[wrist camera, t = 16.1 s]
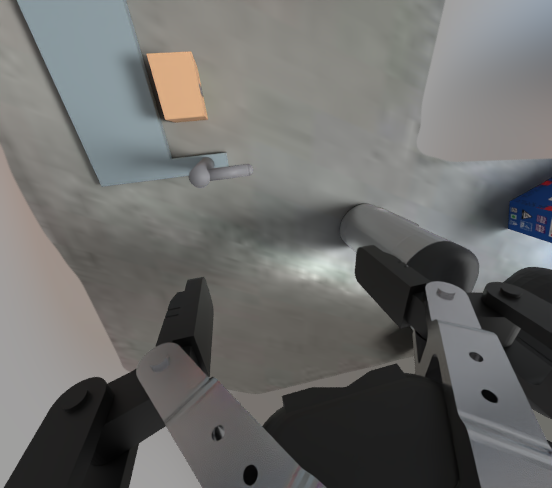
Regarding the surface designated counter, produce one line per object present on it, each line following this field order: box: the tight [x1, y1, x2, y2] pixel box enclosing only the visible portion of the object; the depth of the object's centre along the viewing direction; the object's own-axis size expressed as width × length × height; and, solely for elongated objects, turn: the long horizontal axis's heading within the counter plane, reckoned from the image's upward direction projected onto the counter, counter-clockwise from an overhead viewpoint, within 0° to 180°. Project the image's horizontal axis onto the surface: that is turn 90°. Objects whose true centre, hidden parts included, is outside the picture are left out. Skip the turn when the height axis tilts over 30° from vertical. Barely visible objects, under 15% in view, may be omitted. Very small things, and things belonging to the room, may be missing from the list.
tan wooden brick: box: [147, 52, 208, 123], centre depth 27 cm, size 5×6×6 cm
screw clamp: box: [17, 0, 253, 188], centre depth 22 cm, size 21×24×14 cm
